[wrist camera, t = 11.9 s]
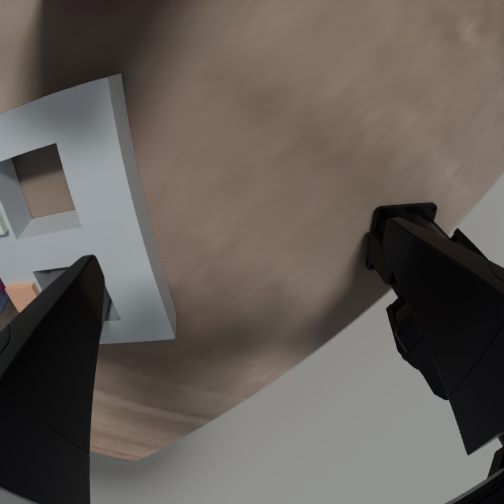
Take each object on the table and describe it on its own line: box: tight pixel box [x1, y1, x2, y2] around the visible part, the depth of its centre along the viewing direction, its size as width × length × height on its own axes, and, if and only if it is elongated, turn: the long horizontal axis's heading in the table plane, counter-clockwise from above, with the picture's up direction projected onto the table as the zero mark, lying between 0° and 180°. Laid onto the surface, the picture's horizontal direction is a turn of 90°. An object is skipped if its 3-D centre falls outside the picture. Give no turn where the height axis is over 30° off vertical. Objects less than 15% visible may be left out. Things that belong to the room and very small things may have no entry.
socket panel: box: [0, 73, 176, 344], centre depth 20 cm, size 14×21×4 cm, turn 3°
